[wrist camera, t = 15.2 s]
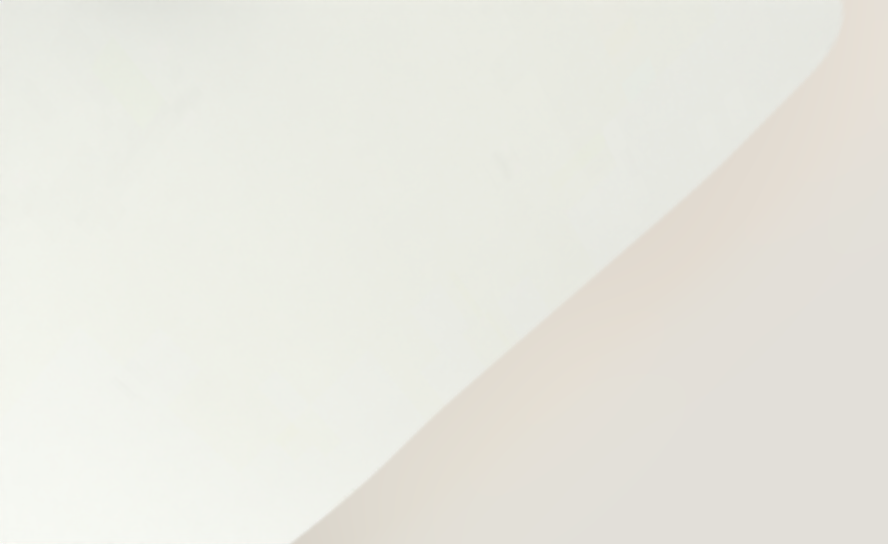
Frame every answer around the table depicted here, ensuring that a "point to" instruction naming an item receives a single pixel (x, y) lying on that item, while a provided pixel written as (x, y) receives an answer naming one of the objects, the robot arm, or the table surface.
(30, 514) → the table surface
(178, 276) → the table surface
